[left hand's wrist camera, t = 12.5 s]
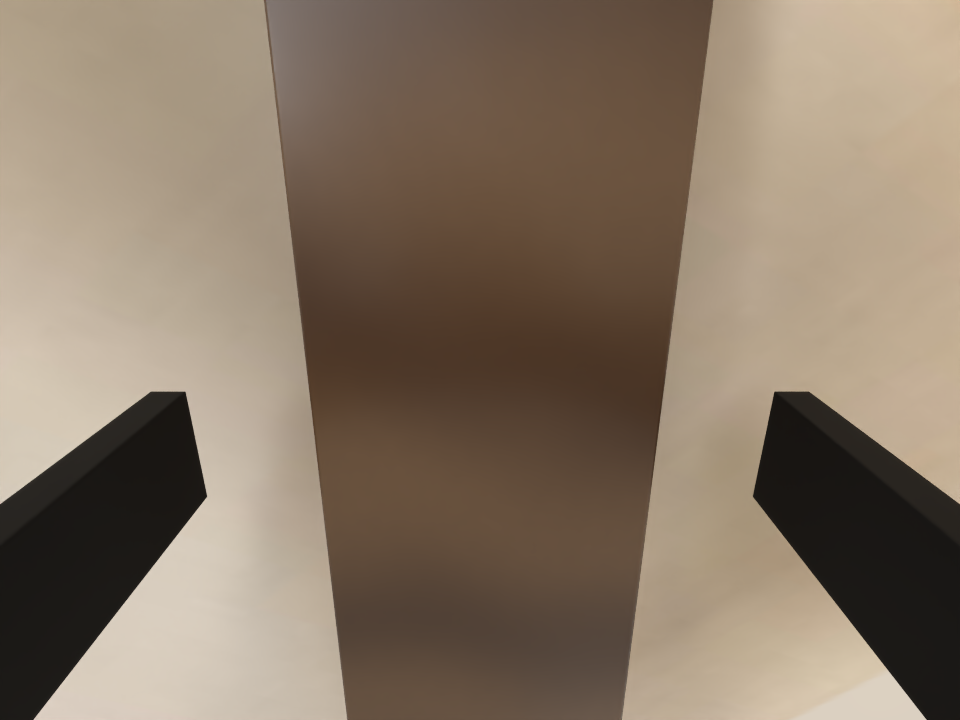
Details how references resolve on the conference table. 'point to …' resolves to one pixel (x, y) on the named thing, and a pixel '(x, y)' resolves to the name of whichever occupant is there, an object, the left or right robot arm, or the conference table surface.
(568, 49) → the bar
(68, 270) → the conference table surface
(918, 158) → the conference table surface
